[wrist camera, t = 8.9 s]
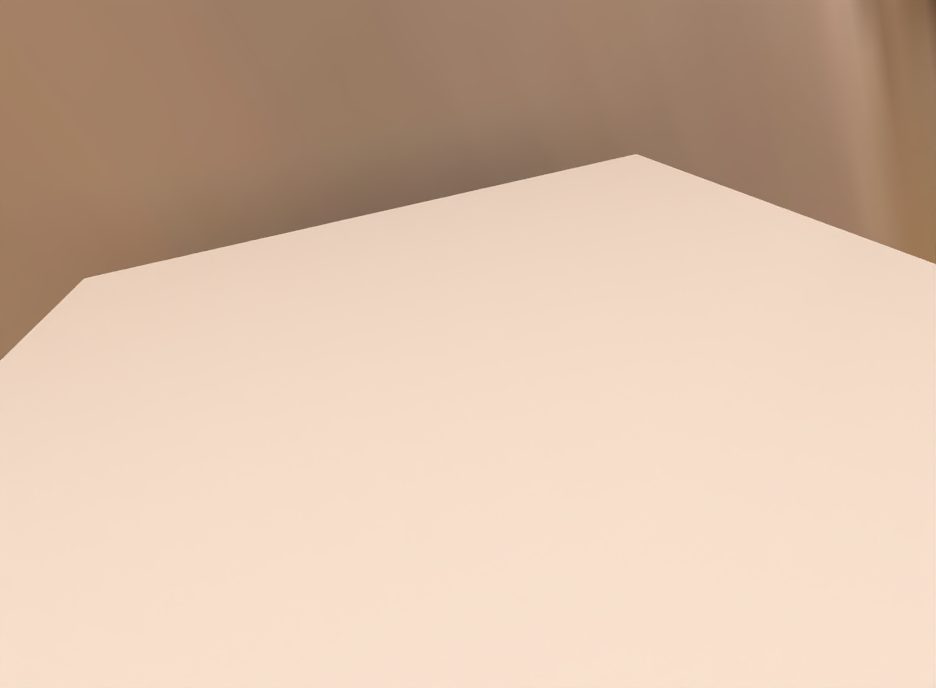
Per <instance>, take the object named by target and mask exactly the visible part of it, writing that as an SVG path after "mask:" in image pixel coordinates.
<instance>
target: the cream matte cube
mask: <svg viewBox="0 0 936 688" xmlns="http://www.w3.org/2000/svg"><path fill="white" fill-rule="evenodd" d="M0 688H936V264H934V263H931V262H928V261H926V260H923V259H920V258H917V257H915V256H912V255H909V254H907V253H904V252H901V251H898V250H896V249H893V248H890V247H888V246H885V245H882V244H879V243H877V242H874V241H871V240H868V239H866V238H863V237H860V236H858V235H855V234H852V233H849V232H847V231H844V230H841V229H839V228H836V227H833V226H830V225H828V224H825V223H822V222H820V221H817V220H814V219H811V218H809V217H806V216H803V215H801V214H798V213H795V212H792V211H790V210H787V209H784V208H781V207H779V206H776V205H773V204H771V203H768V202H765V201H762V200H760V199H757V198H754V197H752V196H749V195H746V194H743V193H741V192H738V191H735V190H733V189H730V188H727V187H724V186H722V185H719V184H716V183H714V182H711V181H708V180H705V179H703V178H700V177H697V176H695V175H692V174H689V173H686V172H684V171H681V170H678V169H675V168H673V167H670V166H667V165H665V164H662V163H659V162H656V161H654V160H651V159H648V158H646V157H643V156H640V155H637V154H635V155H631V156H626V157H622V158H617V159H613V160H608V161H604V162H599V163H595V164H591V165H586V166H582V167H577V168H573V169H568V170H564V171H560V172H555V173H551V174H546V175H542V176H537V177H533V178H528V179H524V180H520V181H515V182H511V183H506V184H502V185H497V186H493V187H488V188H484V189H480V190H475V191H471V192H466V193H462V194H457V195H453V196H449V197H444V198H440V199H435V200H431V201H426V202H422V203H417V204H413V205H409V206H404V207H400V208H395V209H391V210H386V211H382V212H378V213H373V214H369V215H364V216H360V217H355V218H351V219H346V220H342V221H338V222H333V223H329V224H324V225H320V226H315V227H311V228H307V229H302V230H298V231H293V232H289V233H284V234H280V235H275V236H271V237H267V238H262V239H258V240H253V241H249V242H244V243H240V244H236V245H231V246H227V247H222V248H218V249H213V250H209V251H204V252H200V253H196V254H191V255H187V256H182V257H178V258H173V259H169V260H165V261H160V262H156V263H151V264H147V265H142V266H138V267H133V268H129V269H125V270H120V271H116V272H111V273H107V274H102V275H98V276H93V277H89V278H85V279H83V280H82V281H81V282H80V283H79V284H78V285H77V286H76V287H75V288H74V289H73V290H72V291H71V292H70V293H69V294H68V295H67V296H66V297H65V298H64V299H63V300H62V301H61V302H60V303H59V304H58V305H57V306H56V307H55V308H54V309H53V310H52V311H51V312H50V313H49V314H48V315H47V316H46V317H45V318H44V319H43V320H41V321H40V322H39V323H38V324H37V325H36V326H35V327H34V328H33V329H32V330H31V331H30V332H29V333H28V334H27V335H26V336H25V337H24V338H23V339H22V340H21V341H20V342H19V343H18V344H17V345H16V346H15V347H14V348H13V349H12V350H11V351H10V352H9V353H8V354H7V355H6V356H5V357H4V358H3V359H2V360H1V361H0Z"/></svg>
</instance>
